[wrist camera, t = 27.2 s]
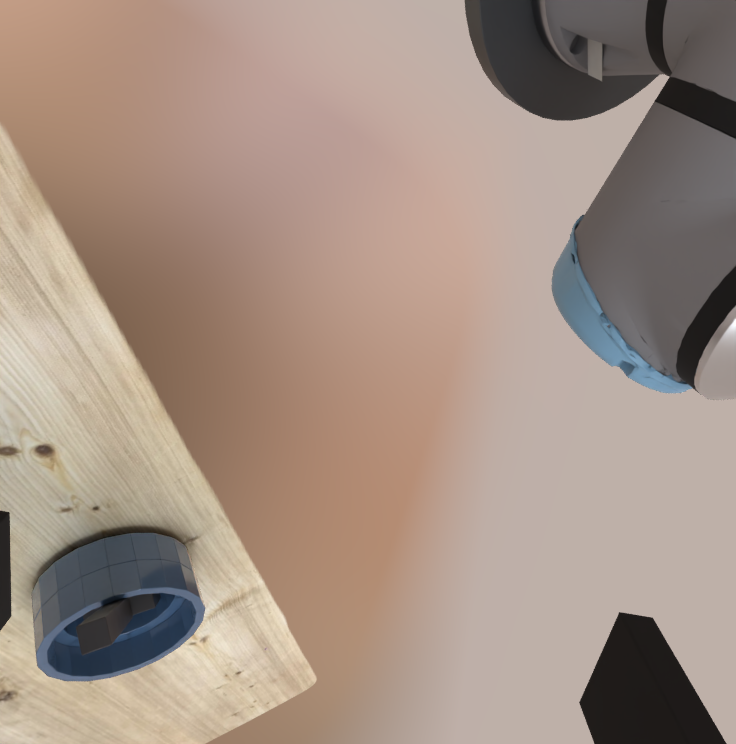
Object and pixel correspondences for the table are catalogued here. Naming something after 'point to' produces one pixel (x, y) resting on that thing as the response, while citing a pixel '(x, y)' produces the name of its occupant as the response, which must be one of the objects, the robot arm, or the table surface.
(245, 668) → the table surface
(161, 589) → the bowl
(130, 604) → the stepped dark block
